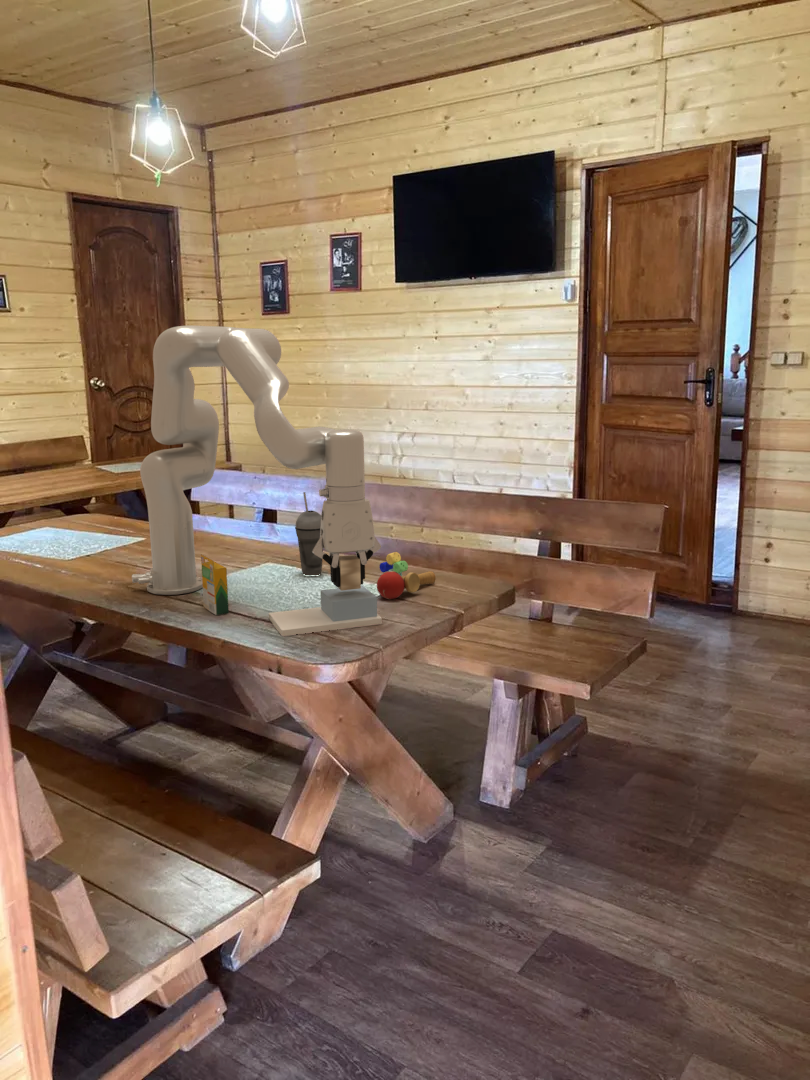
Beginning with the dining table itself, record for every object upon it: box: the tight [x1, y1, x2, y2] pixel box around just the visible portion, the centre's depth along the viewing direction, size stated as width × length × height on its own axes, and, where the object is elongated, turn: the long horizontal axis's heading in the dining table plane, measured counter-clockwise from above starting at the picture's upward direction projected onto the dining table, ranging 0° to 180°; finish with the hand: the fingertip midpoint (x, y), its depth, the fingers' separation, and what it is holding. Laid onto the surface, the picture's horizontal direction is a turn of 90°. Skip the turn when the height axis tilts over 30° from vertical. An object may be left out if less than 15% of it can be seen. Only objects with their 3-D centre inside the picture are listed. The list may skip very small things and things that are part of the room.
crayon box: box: [200, 553, 230, 616], centre depth 181 cm, size 7×3×12 cm, turn 33°
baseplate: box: [268, 585, 383, 637], centre depth 173 cm, size 20×12×5 cm, turn 111°
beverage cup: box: [294, 491, 324, 575], centre depth 208 cm, size 7×7×20 cm
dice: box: [379, 551, 409, 576], centre depth 205 cm, size 8×3×6 cm, turn 41°
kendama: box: [376, 570, 437, 601], centre depth 194 cm, size 8×6×18 cm
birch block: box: [337, 554, 362, 591], centre depth 174 cm, size 4×4×6 cm
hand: (348, 583), depth 174 cm, fingers closed on birch block, 4 cm apart
